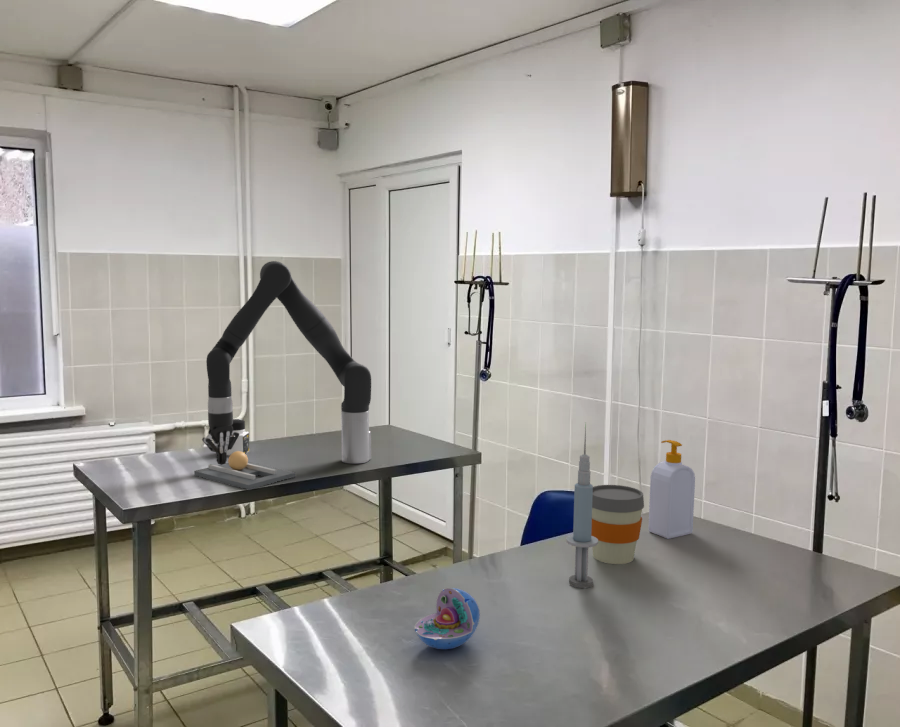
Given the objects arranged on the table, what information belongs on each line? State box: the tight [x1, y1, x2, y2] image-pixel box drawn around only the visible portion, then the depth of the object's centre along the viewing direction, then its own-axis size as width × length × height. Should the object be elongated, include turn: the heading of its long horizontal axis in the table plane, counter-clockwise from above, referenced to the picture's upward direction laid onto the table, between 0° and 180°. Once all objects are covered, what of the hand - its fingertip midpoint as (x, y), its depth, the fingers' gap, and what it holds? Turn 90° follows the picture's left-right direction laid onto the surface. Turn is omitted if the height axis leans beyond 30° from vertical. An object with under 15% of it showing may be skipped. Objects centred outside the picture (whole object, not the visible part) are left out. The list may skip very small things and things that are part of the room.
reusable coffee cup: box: [591, 484, 645, 565], centre depth 171 cm, size 13×13×15 cm
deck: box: [193, 461, 296, 491], centre depth 237 cm, size 18×26×3 cm
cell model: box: [413, 587, 481, 650], centre depth 129 cm, size 10×12×10 cm
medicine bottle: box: [227, 418, 250, 456], centre depth 266 cm, size 7×7×12 cm
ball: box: [227, 451, 249, 470], centre depth 238 cm, size 6×6×6 cm
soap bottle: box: [648, 439, 696, 540], centre depth 187 cm, size 9×7×23 cm
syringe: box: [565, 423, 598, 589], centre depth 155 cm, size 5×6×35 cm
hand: (221, 463), depth 243 cm, fingers closed
